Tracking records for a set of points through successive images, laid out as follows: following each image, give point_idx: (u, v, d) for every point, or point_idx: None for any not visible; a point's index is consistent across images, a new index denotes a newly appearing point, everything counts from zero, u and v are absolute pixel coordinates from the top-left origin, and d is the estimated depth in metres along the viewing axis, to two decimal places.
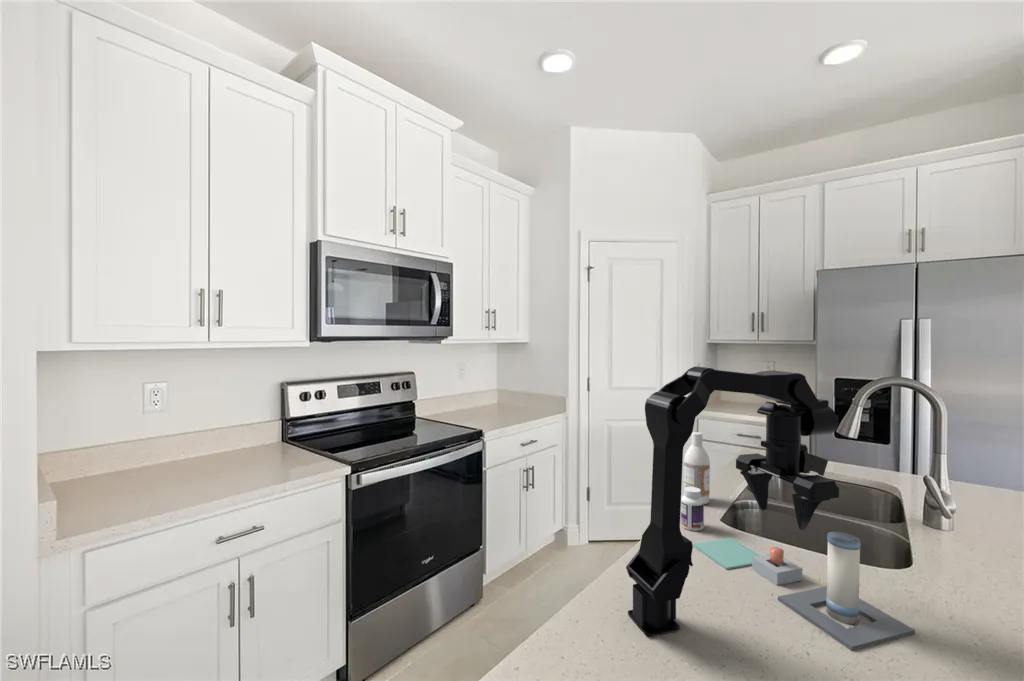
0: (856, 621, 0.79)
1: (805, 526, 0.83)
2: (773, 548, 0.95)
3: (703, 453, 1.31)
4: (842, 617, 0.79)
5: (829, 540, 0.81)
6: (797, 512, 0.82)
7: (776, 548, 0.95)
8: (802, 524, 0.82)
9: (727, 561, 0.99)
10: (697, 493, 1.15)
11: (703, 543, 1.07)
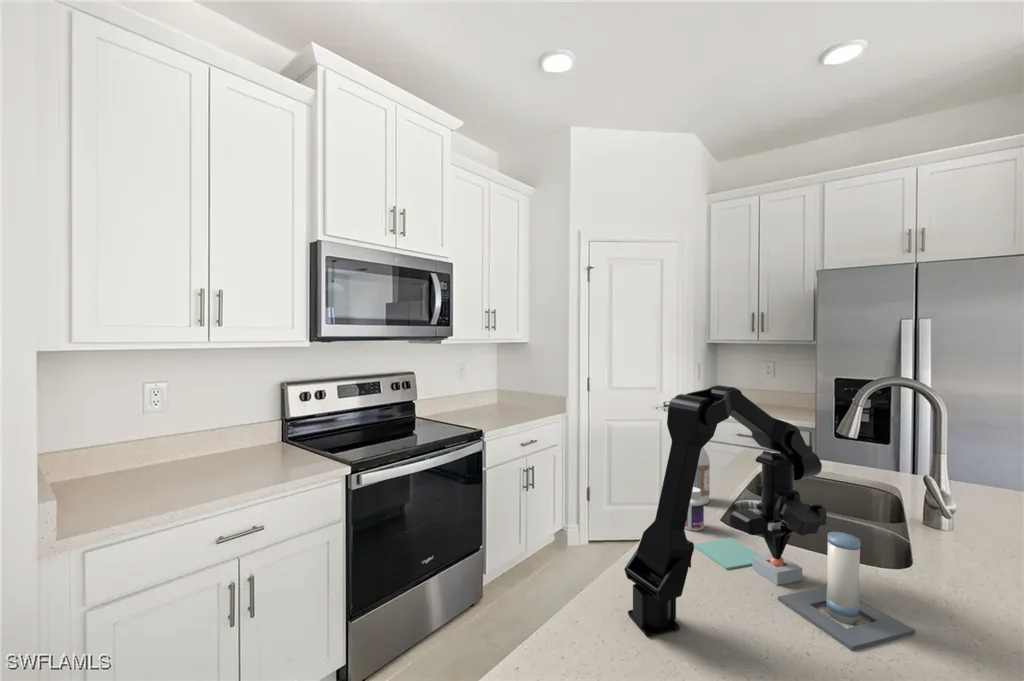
0: (856, 621, 0.79)
1: (775, 555, 0.94)
2: None
3: (703, 453, 1.31)
4: (842, 617, 0.79)
5: (829, 540, 0.81)
6: None
7: None
8: (771, 551, 0.95)
9: (727, 561, 0.99)
10: (697, 493, 1.15)
11: (703, 543, 1.07)
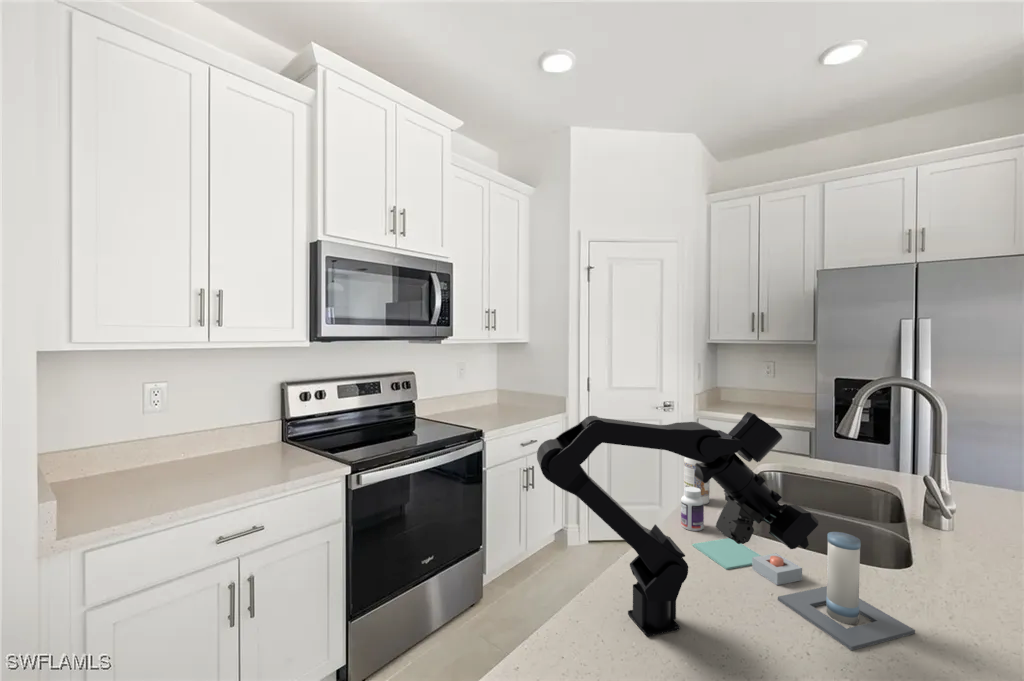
0: (856, 621, 0.79)
1: None
2: (773, 557, 0.95)
3: None
4: (842, 617, 0.79)
5: (829, 540, 0.81)
6: None
7: (776, 557, 0.95)
8: None
9: (727, 561, 0.99)
10: (697, 493, 1.15)
11: (703, 543, 1.07)
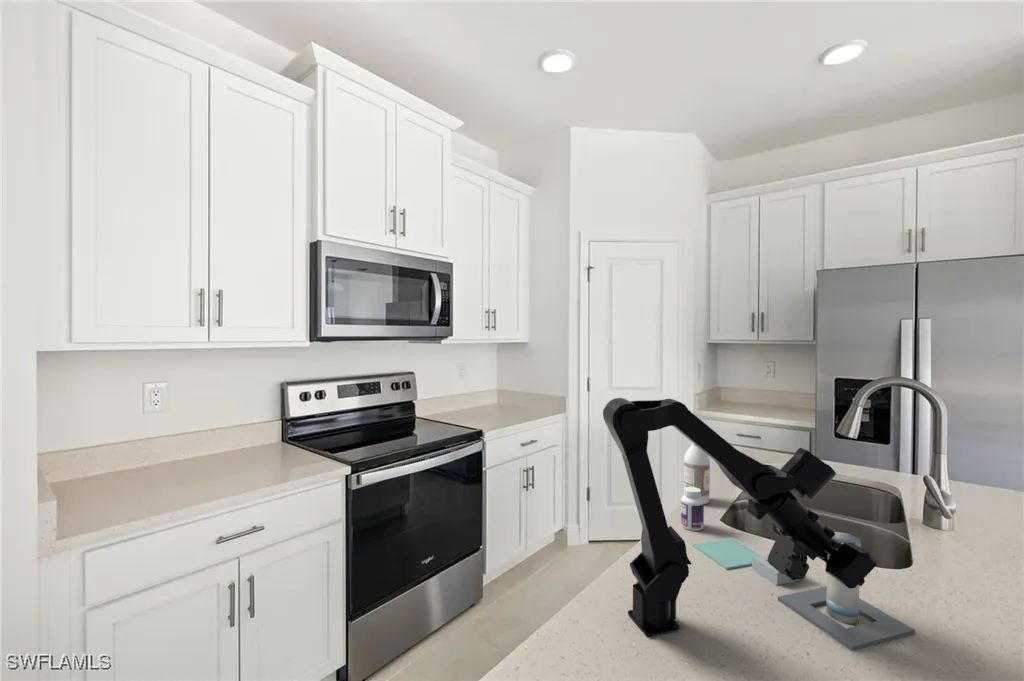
0: (856, 621, 0.79)
1: None
2: None
3: (703, 453, 1.31)
4: (842, 617, 0.79)
5: None
6: None
7: None
8: None
9: (727, 561, 0.99)
10: (697, 493, 1.15)
11: (703, 543, 1.07)
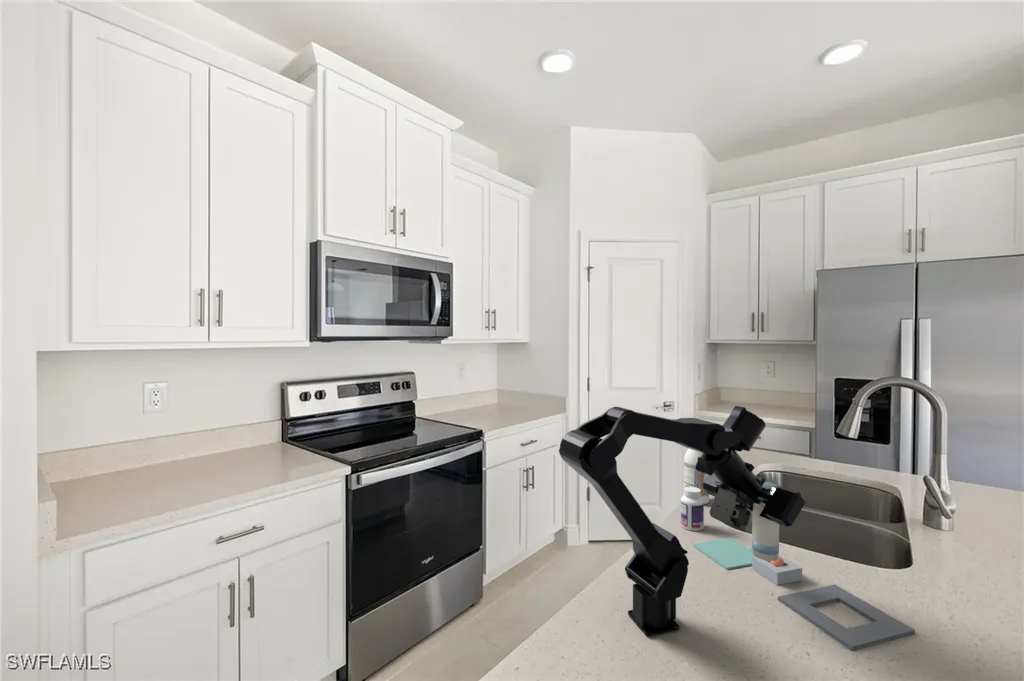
0: (777, 557, 0.89)
1: None
2: None
3: None
4: (768, 556, 0.88)
5: None
6: None
7: None
8: None
9: (727, 561, 0.99)
10: (697, 493, 1.15)
11: (703, 543, 1.07)
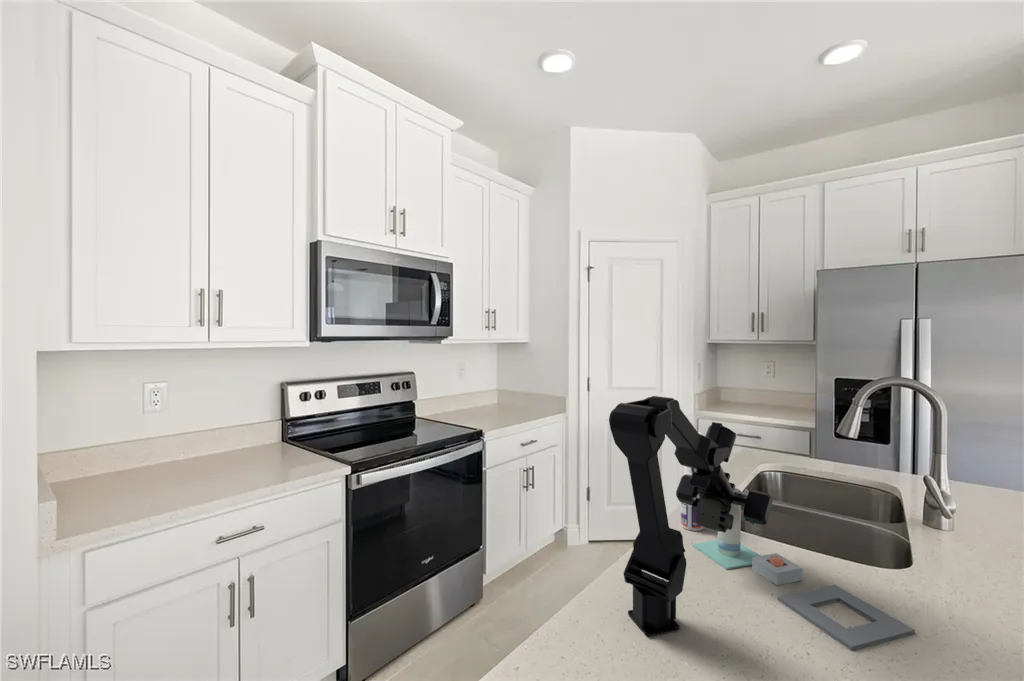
0: None
1: None
2: (773, 557, 0.95)
3: None
4: (735, 552, 1.01)
5: None
6: None
7: (776, 557, 0.95)
8: None
9: (727, 561, 0.99)
10: None
11: (703, 543, 1.07)
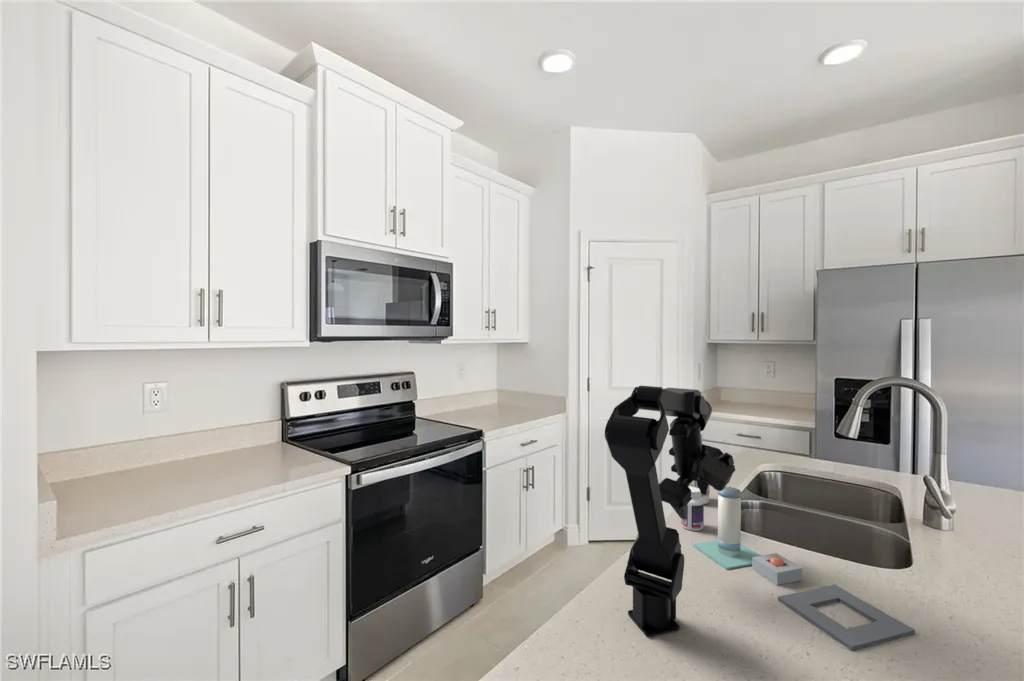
0: None
1: (682, 517, 0.96)
2: (773, 557, 0.95)
3: None
4: (735, 552, 1.01)
5: (723, 495, 1.02)
6: None
7: (776, 557, 0.95)
8: (678, 514, 0.96)
9: (727, 561, 0.99)
10: (697, 493, 1.15)
11: (703, 543, 1.07)
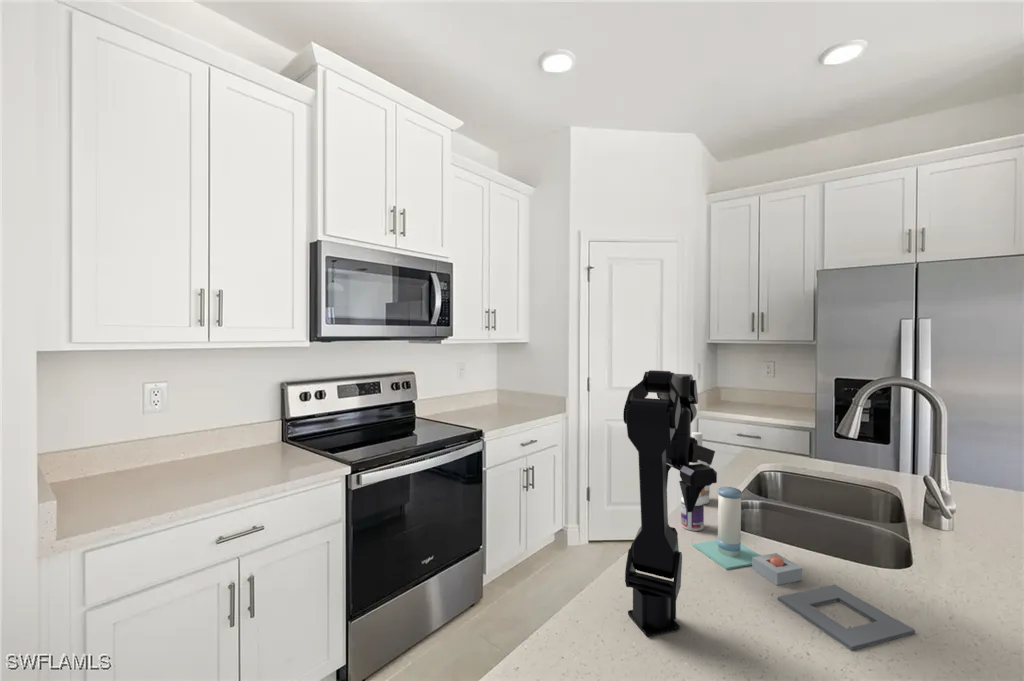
0: None
1: (691, 509, 0.94)
2: (773, 557, 0.95)
3: None
4: (735, 552, 1.01)
5: (724, 495, 1.02)
6: (684, 496, 0.94)
7: (776, 557, 0.95)
8: (689, 507, 0.94)
9: (727, 561, 0.99)
10: None
11: (703, 543, 1.07)
